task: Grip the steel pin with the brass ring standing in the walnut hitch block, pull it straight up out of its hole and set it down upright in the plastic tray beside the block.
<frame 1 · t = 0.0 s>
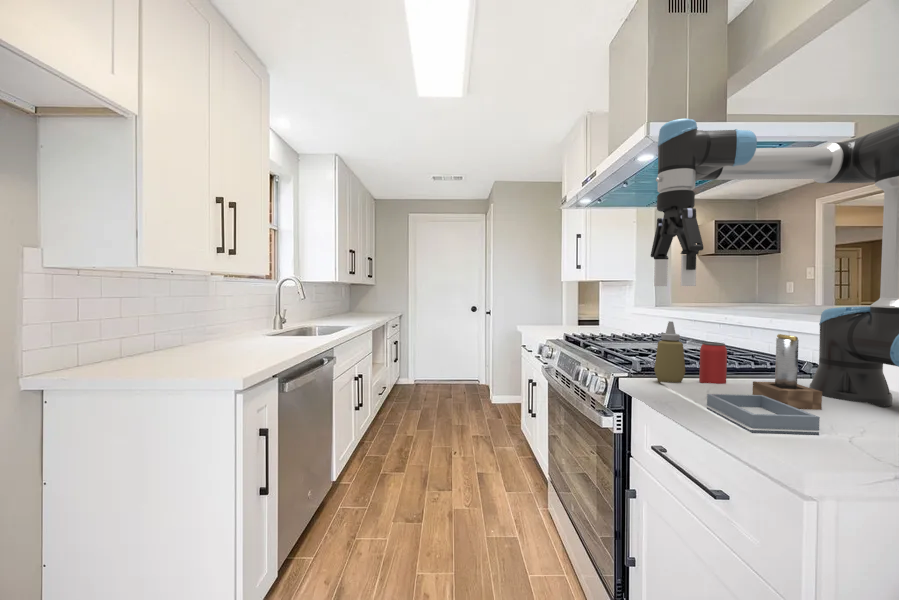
hand: (673, 286, 95), 28 cm above the countertop, fingers open, 13 cm apart
hitch block: (785, 407, 97), on the countertop
steel pin: (785, 403, 97), point 1 cm above the countertop, touching hitch block
beer can: (712, 385, 120), on the countertop
tray: (757, 420, 87), on the countertop
squeeze bottle: (669, 384, 121), on the countertop
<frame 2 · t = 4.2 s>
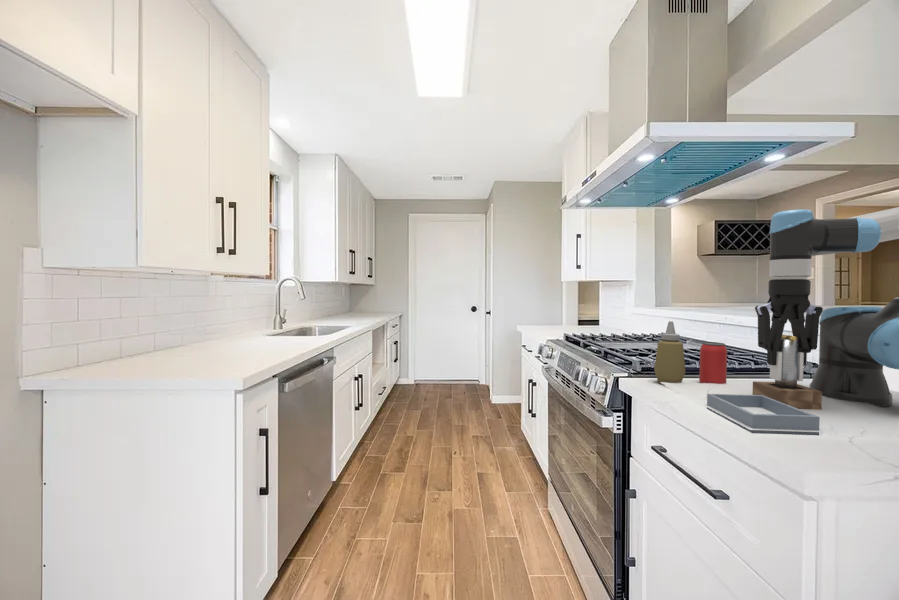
hand: (786, 379, 97), 7 cm above the countertop, fingers closed on steel pin, 4 cm apart
steel pin: (785, 403, 97), point 1 cm above the countertop, touching gripper, hitch block
everything else where it was.
when the fingers open (8 cm above the countertop, at t = 12.1 s): steel pin drops 2 cm, resting on tray.
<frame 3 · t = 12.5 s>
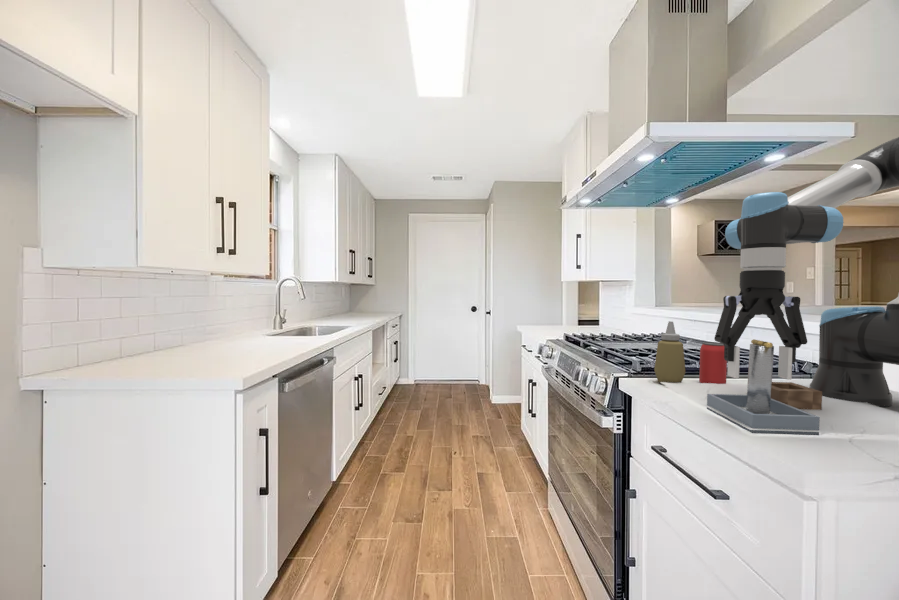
hand: (758, 377, 87), 9 cm above the countertop, fingers open, 9 cm apart
steel pin: (757, 416, 87), point 1 cm above the countertop, touching tray
everything else where it was.
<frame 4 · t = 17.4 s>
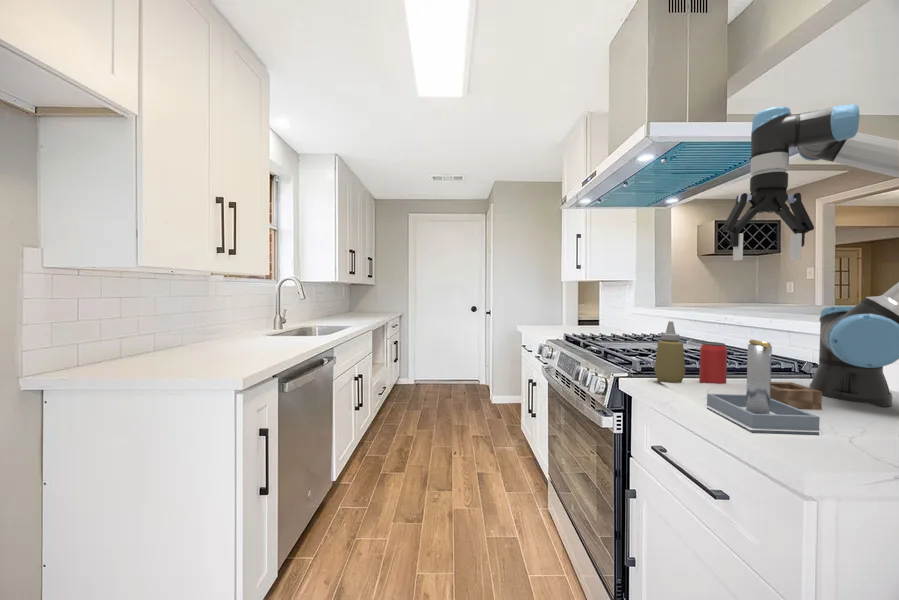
hand: (766, 260, 104), 35 cm above the countertop, fingers open, 13 cm apart
nothing on the countertop moved.
at the end: steel pin inside the target area on the tray (0.1 cm from its centre), point 0.8 cm above the tray's base; the gripper is holding nothing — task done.
